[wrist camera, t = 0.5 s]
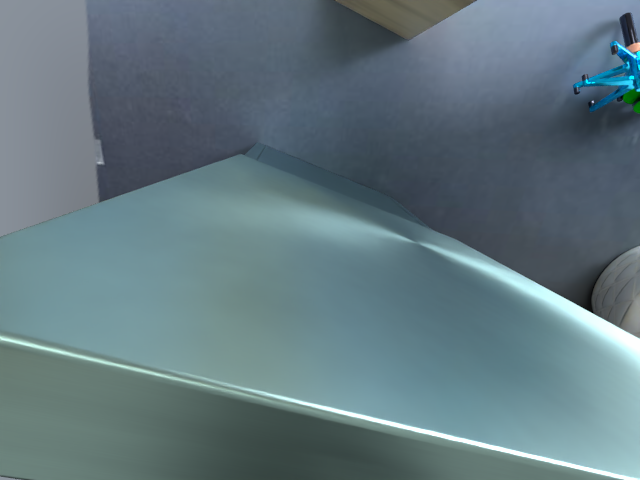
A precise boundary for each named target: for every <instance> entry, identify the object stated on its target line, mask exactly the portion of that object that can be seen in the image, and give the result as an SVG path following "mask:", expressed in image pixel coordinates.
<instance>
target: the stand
mask: <svg viewBox="0 0 640 480" xmlns="http://www.w3.org/2000/svg"><path fill="white" fill-rule="evenodd" d="M334 1H336V2H338V3H340V4H342V5H344V6H346V7H347V8H349V9H351V10H353V11H355V12H357V13H359V14H360V15H362V16H364V17H366V18H368V19H370V20H372V21H373V22H375V23H377V24H379V25H381V26H383V27H385V28H386V29H388V30H390V31H392V32H394V33H396V34H397V35H399V36H401V37H403V38H405V39H407V40H410V39H412V38H414V37H415V36H417V35H419V34H420V33H422V32H424V31H426V30H427V29H429V28H431V27H432V26H434V25H436V24H437V23H439V22H441V21H443V20H444V19H446V18H448V17H449V16H451V15H453V14H455V13H456V12H458V11H460V10H461V9H463V8H465V7H466V6H468V5H470V4H472V3H473V2H475V1H477V0H334Z"/></svg>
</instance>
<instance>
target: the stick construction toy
mask: <svg viewBox="0 0 640 480" xmlns="http://www.w3.org/2000/svg"><path fill="white" fill-rule="evenodd" d="M619 20H620V25H621V29H622V34H623V38H624V43H625V47H626V48H625V47H624V46H622V45H621V44H620V43H618V42H617V41H613V42H611V43H610V48H611V52H612V55H614V54H617V55H618V56H619V57H620V58H621V59H622V60H623V62H624V63H625V64H623V65H621V66H618V67H616V68H613V69H611V70H608V71H606V72H603V73H601V74H598V75H596V76H593V77H590V78H588V74H585V75H583V76H582V81H580V82H578V83H575V84H574V85H573V88H574V94H579V93H580V89H579V88H580V87H583V86H584V87H588V86H618V85H619V87H618V89H617V90H616V91H614V92H613V93H611V94H610V95H608V96H607V97H605V98H604V99H602V100H601V101H599V102H598V103H596V104H595V105H594V101H590V102H589V103H588V104H589V110H590V112H594V111H595V110H597V109H599V108H601V107H602V106H604V105H606V104H608V103H609V102H611V101H613V100H614V99H616V98H617V101H618V102H619V101H622V100H624V102H626V103H629V104H633V105H632V106H633V110H634V111H635V112H637V113H640V42H638V38H637V34H636V29H635V25H634V21H633V17H632V13H626V14H624V15H622V16H621V17H620V19H619ZM625 72H626V73H625ZM622 73H625V75H624V77H614V78H610V77H613V76H616V75H619V74H622Z"/></svg>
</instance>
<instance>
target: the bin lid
mask: <svg viewBox="0 0 640 480" xmlns="http://www.w3.org/2000/svg"><path fill="white" fill-rule="evenodd" d="M0 476H1V477H8V478H15V479H22V480H640V339H639V338H637V337H635V336H633V335H631V334H630V333H628V332H626V331H624V330H622V329H620V328H619V327H617V326H615V325H613V324H611V323H609V322H607V321H606V320H604V319H602V318H600V317H598V316H596V315H595V314H593V313H591V312H589V311H587V310H585V309H583V308H582V307H580V306H578V305H576V304H574V303H572V302H570V301H569V300H567V299H565V298H563V297H561V296H559V295H558V294H556V293H554V292H552V291H550V290H548V289H546V288H545V287H543V286H541V285H539V284H537V283H535V282H534V281H532V280H530V279H528V278H526V277H524V276H522V275H521V274H519V273H517V272H515V271H513V270H511V269H510V268H508V267H506V266H504V265H502V264H500V263H498V262H497V261H495V260H493V259H491V258H489V257H487V256H486V255H484V254H482V253H480V252H478V251H476V250H474V249H473V248H471V247H469V246H467V245H465V244H463V243H462V242H460V241H458V240H456V239H454V238H451V237H449V236H446V235H444V234H441V233H439V232H436V231H434V230H431V229H429V228H426V227H424V226H421V225H418V224H416V223H413V222H411V221H408V220H406V219H403V218H401V217H398V216H396V215H393V214H391V213H388V212H386V211H383V210H381V209H378V208H376V207H373V206H371V205H368V204H366V203H363V202H361V201H358V200H355V199H353V198H350V197H348V196H345V195H343V194H340V193H338V192H335V191H333V190H330V189H328V188H325V187H323V186H320V185H318V184H315V183H313V182H310V181H308V180H305V179H303V178H300V177H298V176H295V175H292V174H290V173H287V172H285V171H282V170H280V169H277V168H275V167H272V166H270V165H267V164H265V163H262V162H260V161H257V160H255V159H252V158H250V157H247V156H245V155H242V154H239V155H236V156H233V157H230V158H227V159H225V160H222V161H219V162H216V163H213V164H210V165H207V166H204V167H201V168H198V169H196V170H193V171H190V172H187V173H184V174H181V175H178V176H175V177H172V178H169V179H167V180H164V181H161V182H158V183H155V184H152V185H149V186H146V187H143V188H140V189H138V190H135V191H132V192H129V193H126V194H123V195H120V196H117V197H114V198H111V199H109V200H106V201H103V202H100V203H97V204H94V205H91V206H88V207H85V208H82V209H80V210H77V211H74V212H71V213H68V214H65V215H62V216H60V217H56V218H54V219H51V220H48V221H45V222H42V223H39V224H36V225H34V226H30V227H28V228H24V229H22V230H19V231H16V232H13V233H10V234H7V235H4V236H1V237H0Z"/></svg>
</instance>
